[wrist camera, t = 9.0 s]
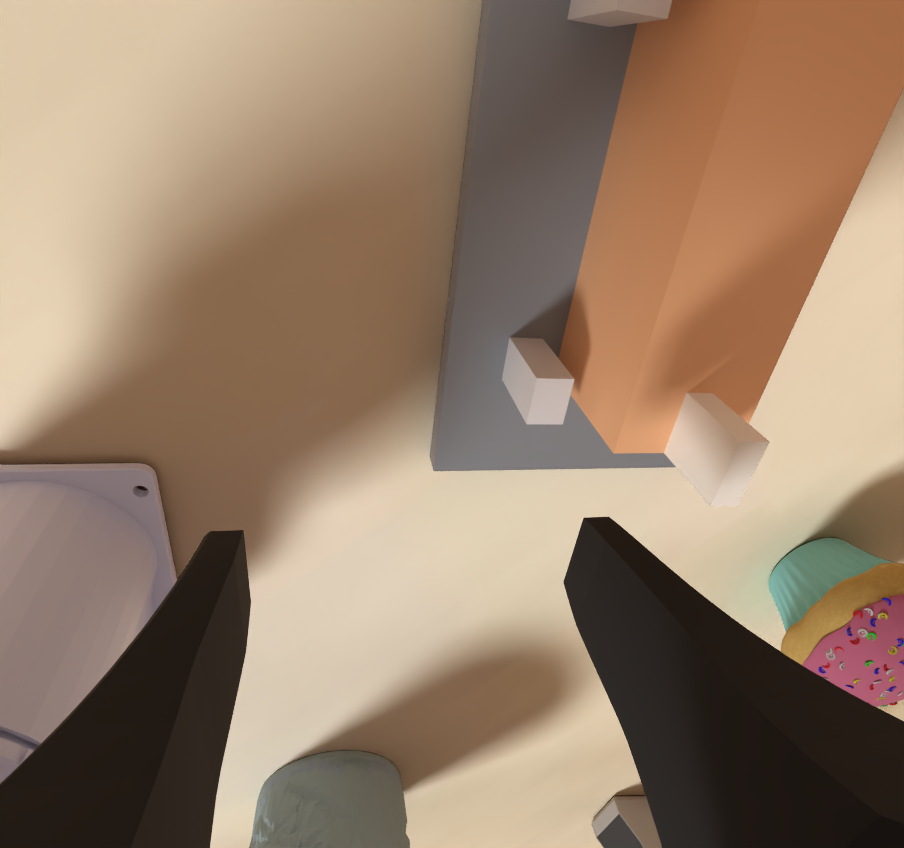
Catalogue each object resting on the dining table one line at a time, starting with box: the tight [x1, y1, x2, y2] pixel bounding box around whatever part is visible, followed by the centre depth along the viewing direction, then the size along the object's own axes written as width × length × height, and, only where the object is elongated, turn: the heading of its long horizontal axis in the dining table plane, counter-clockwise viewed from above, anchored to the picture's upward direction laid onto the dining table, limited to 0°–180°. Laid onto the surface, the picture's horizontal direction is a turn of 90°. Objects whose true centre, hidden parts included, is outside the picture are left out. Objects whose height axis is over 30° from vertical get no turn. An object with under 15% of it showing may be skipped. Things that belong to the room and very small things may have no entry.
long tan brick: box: [558, 0, 904, 507], centre depth 14 cm, size 12×4×7 cm, turn 173°
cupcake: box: [769, 538, 904, 707], centre depth 26 cm, size 9×8×12 cm
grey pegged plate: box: [430, 0, 675, 471], centre depth 17 cm, size 20×12×4 cm, turn 173°
